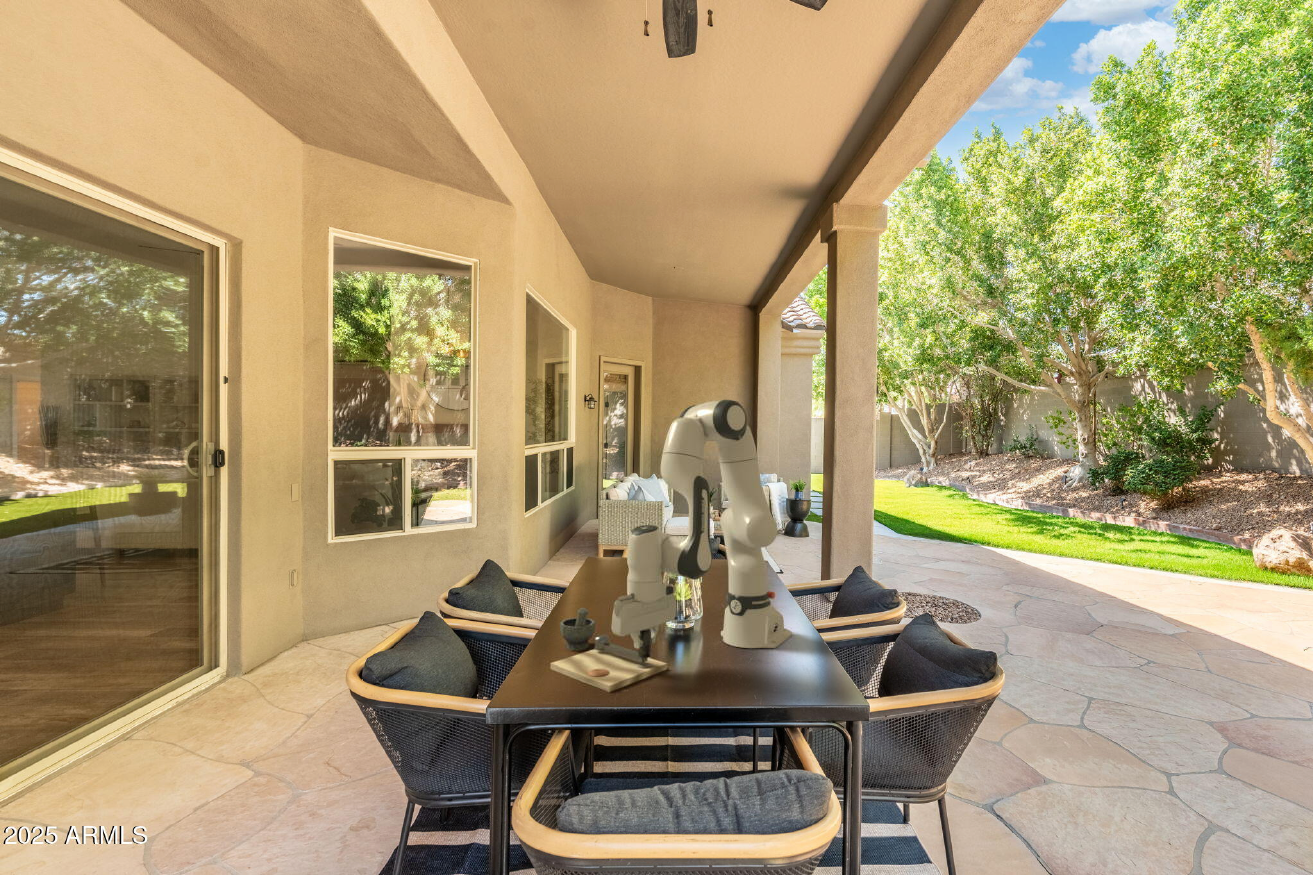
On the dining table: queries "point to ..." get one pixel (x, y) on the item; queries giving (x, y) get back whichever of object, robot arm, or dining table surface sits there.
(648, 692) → the dining table surface
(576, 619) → the mortar and pestle
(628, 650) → the lever
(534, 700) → the dining table surface
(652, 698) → the dining table surface
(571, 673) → the lever board
